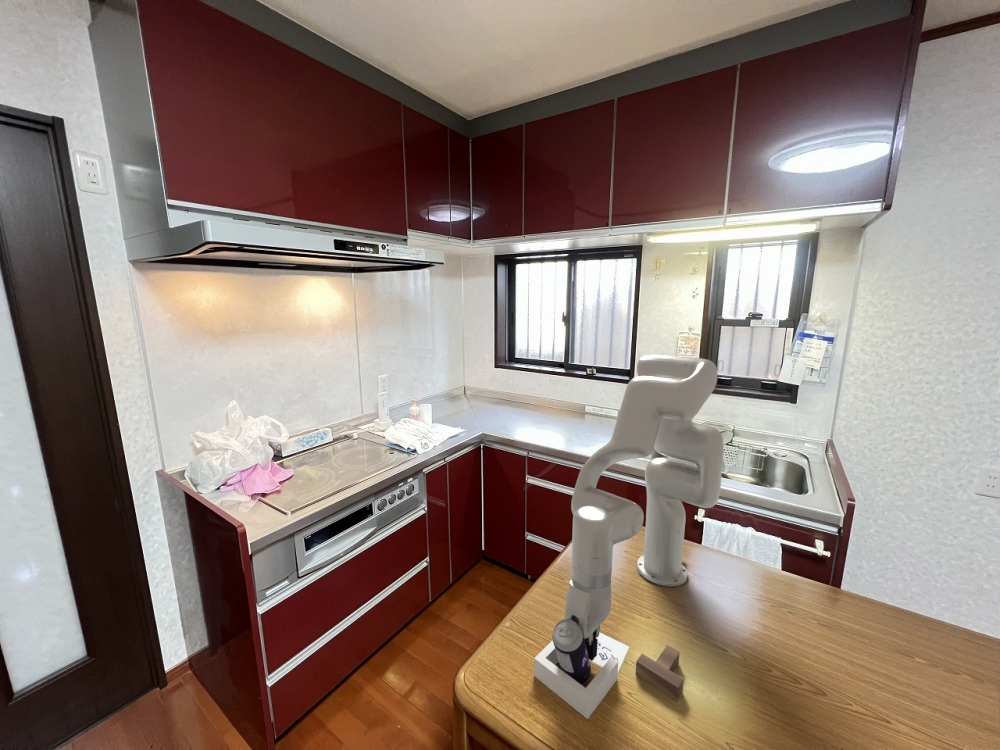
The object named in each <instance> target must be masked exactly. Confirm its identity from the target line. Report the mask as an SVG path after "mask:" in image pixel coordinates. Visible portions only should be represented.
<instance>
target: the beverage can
mask: <svg viewBox="0 0 1000 750" xmlns="http://www.w3.org/2000/svg"><path fill="white" fill-rule="evenodd" d="M551 637H552V640H553V643H554V646H555V650H556V654H557V657H558V664H559V669H561V670H562V671H563V672H565V673H566V674H567V675H569V676H570V677H571V678H573V679H574V680H575V681H577V682H578V683H579V684H581V685H583V684H585V683H587V681H588V680H589V679H590V677H591V674H592V667H591V662H590V661H591V660H589V657H588V653H587V649H586V644H585V640H584V636H583V632H582V630H581V629H580V628H579V626H578V625H577V623H576V622H574V621H572V620H570V619H565V618H564V619H562V620H559V621H557V623H556V624H555V625H554V628H553V632H552V636H551Z"/></svg>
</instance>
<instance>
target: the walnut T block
mask: <svg viewBox="0 0 1000 750" xmlns="http://www.w3.org/2000/svg"><path fill="white" fill-rule="evenodd" d="M680 653H681V652H680V651H679V650H677V649H676V648H675V647H672V646H670V645H668V644H666V645H665V647H664V649H663V651H661V653H660V654H659V656H658V657H657V658H656V660H654V659H652V658H651V657H648V656H647V655H646V654H644V653H641V654H640V656H639V657H638V658H637V659H636V661H635V675H636V676H637V677H638V678H640V679H642V680H643V681H645V682H646V683H647V684H649V685H650V686H652V687H654V689H657V690H658V691H660V692H662V693H663V694H664V695H666V696H668V697H669V698H670V699H672V700H674V701H675V702H677V703H678V701H679V700H680V698H681V697H682V694H683V691H684V680H685V679H684V678H683V677H682V676H680V675H679V674H677V673H675V671H676V670H677V668H678V667H679V664H680V655H681V654H680Z"/></svg>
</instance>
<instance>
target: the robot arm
mask: <svg viewBox="0 0 1000 750" xmlns="http://www.w3.org/2000/svg"><path fill="white" fill-rule="evenodd" d="M636 373H637V376H635V377H633V378H631V380H630V381H629V382H628V383H627V386H626V389H625V392H624V394H623V395H624V396H623V398H622V401H621V405H620V407H619V412H618V416H617V419H616V421H615V425H614V429H613V433H612V436H611V438H610V440H609V441H608V443H606V444H605V445H603V446H602V447H600V448H599V449H597V450H596V451H595V452H594V453H593V454H592V455H591V456H590V457H589V459H587V460H586V461H585V463H584V465H582V466H581V467H582V468H581V469H580V471H579V473H578V477H577V480H576V483H575V485H574V490H573V494H572V496H571V497H572V498H571V504H570V505H571V512H572V515H573V517H572V537H571V538H572V539H571V540H572V542H571V543H572V544H571V567H570V568H571V570H570V571H571V572H570V576H571V579H570V581H569V585H568V590H567V594H566V601H565V609H564V611H565V612H564V619H570V620H572V621H574V622H576V623H577V625H578V626H579V628H580V629H581V630H582V632H583V636H584V640H585V644H586V649H587V653H588V657H589V661H591V662H592V661H594V659H595V658H596V657H597V656H598V640H599V639H598V638H599V636H600V631H601V630H600V629H601V625H602V624H603V623H604V622H605V620H606V619H607V618H608V616H609V615H610V611H611V604H612V574H613V573H612V569H613V553H614V551H613V550H614V545H616V544H619V543H621V542H622V543H623V542H624V541H628V540H630V539H631V538H633V537H634V536H636V535H637V534H638V533H639V532H640V531H641V529H642V528H643V525H644V518H645V530H644V531H645V533H644V543H643V544H644V546H643V555H641V556H640V557H638V559H637V561H636V568H637V570H638V572H639V574H640V575H641V576H642V577H643V578H644V579H646V580H648V581H650V582H651V583H653V584H655V585H660V586H663V587H678V586H681V585H683V584H685V583H686V582H687V580H688V570H687V568H686V567H685V566H684V564H683V553H684V542H685V541H684V540H685V532H686V531H685V527H686V516H687V515H686V510H685V507H684V505H683V503H687V504H690V505H693V506H697V507H700V508H704V509H705V508H706V509H711V508H713V507H714V506H715V505H716V504H717V503H718V501H719V497H720V494H721V486H722V485H721V484H722V474H723V473H722V471H723V462H724V461H723V459H724V438H723V435H722V432H720V430H719V429H717V427H714V426H710V425H707V424H702V423H695V422H693V421H692V419H694V418H695V417H696V416H697V414H698V413H699V412H700V410H701V409H702V408H703V406H704V404H705V403H706V402H707V400H708V399H709V397H711V394H712V393H713V391H714V390H715V387H716V386H717V381H718V369H717V366H716V364H715V362H713V361H712V360H710V359H706V358H700V357H699V358H698V357H689V356H680V355H679V356H677V355H667V354H648V355H644V356H641V357H640V358H639V360H638V361H637V364H636ZM653 450H655V452H656V453H658V454H660V455H663V456H666V457H654V458H652V459H650V460H649V462H648V463H647V464H646V467H645V470H644V482H645V488H646V489H645V490H646V514H645V515H644V511H643V509H642V507H641V506H640V505H639V504H638V503H636V502H635V501H632V500H630V499H628V498H624V497H621V496H618V495H616V494H614V493H610V492H607V491H605V490H602V489H599V488H597V484H598V482H599V479H600V478H601V475H602V474H603V473H604V472H605V470H607V468H609V467H611V466H613V465H614V464H617V463H620V462H624V461H628V460H636V459H642V458H647V457H649V456H650V455H652V454H653ZM667 457H670V458H667ZM691 463H693V464H691ZM645 516H646V517H645Z"/></svg>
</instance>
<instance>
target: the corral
mask: <svg viewBox="0 0 1000 750" xmlns="http://www.w3.org/2000/svg"><path fill="white" fill-rule="evenodd" d="M558 663H559V661H558V657H557V654H556V650H555V646H554V643H553V639H552V640H550V642H549V643H548V644H546V646H545V647H544V648H543V649H542V650H541V651H539V653H538V654H537V655H536V656H535V657H534V660H533V664H534V665H533V677H535V678H536V679H537V680H539V682H541V683H542V684H543V685H545V686H546V687H547V688H548V689H550V690H551V691H552V692H553V693H554V694H555V695H556V696H558V697H559V698H561V699H562V700H563V701H565V702H566V703H567V705H569V706H570V707H572V708H573V709H574V710H576V711H577V712H578V713H579V714H581V715H582V717H584V718H586V719H587V720H589V718H590V717H591V716H592V715H593V713H594V712H595V710H596V709H597V707H599V705H600V703H601V702H602V701H603V700H604V698H605V696H606V695H607V694H608V693H609V692H610V690H611V688H612V687H613V686H614V685H615V683H616V682H617V680H618V675H619V673H618V672H619V670H618V669H619V661H618V660H616V659H615V658H613V656H611V657H609V659H608V660H607V661H606V663H605V664H604V665H603V666H602V668H600V670H599V671H598V672H597V674H596V675H595V676H594V677H593V678H592V680H591V681H590V682H589V683H588V685H587V686H586V687H585V686H583V684H579V683H578V682H577V681H575V680H574V679H573V678H571V677H570V676H569V675H567V674H566V673H565V672H563V671H562V670H561V668H560V667H558V666H557V664H558Z"/></svg>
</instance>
